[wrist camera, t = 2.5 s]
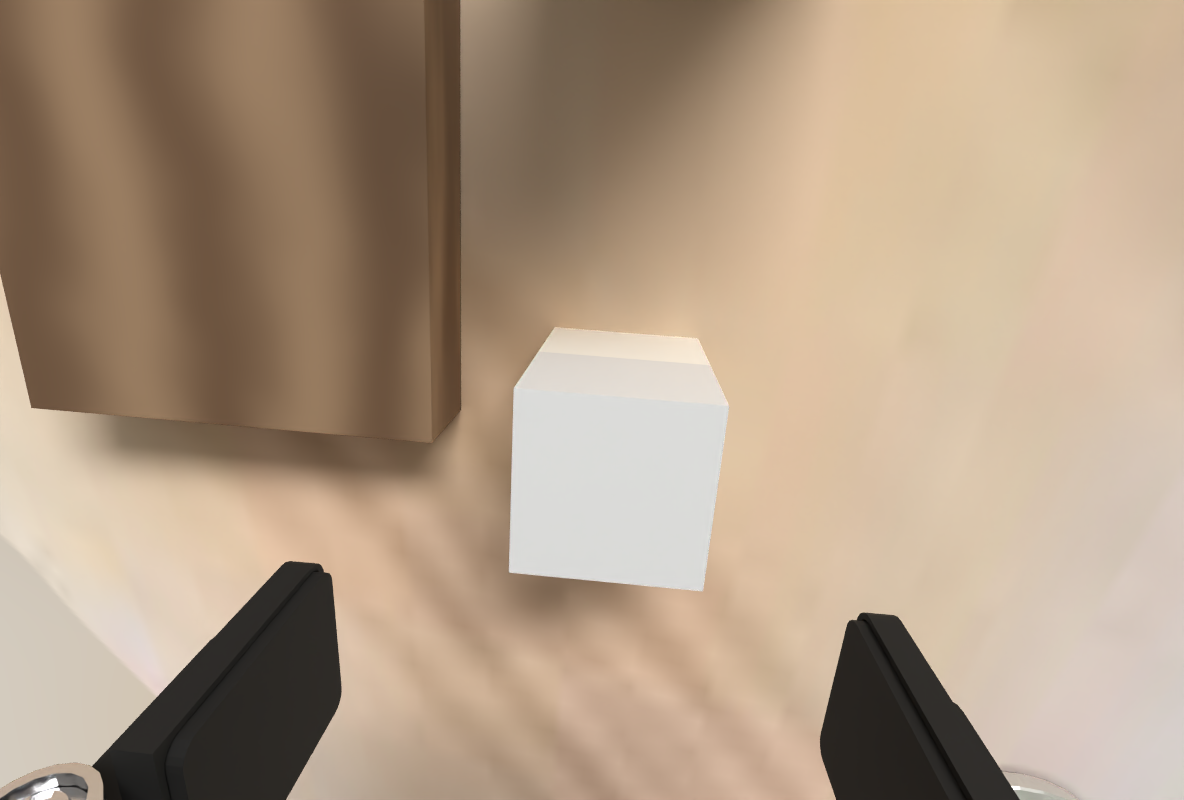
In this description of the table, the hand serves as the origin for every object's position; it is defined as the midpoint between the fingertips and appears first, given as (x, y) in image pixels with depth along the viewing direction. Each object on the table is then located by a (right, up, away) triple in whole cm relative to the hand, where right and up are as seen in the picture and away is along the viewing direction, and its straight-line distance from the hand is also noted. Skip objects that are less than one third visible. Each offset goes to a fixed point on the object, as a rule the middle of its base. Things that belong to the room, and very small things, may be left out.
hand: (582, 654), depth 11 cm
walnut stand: (-13, +12, +14) cm, 23 cm away
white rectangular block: (+1, +5, +15) cm, 16 cm away
